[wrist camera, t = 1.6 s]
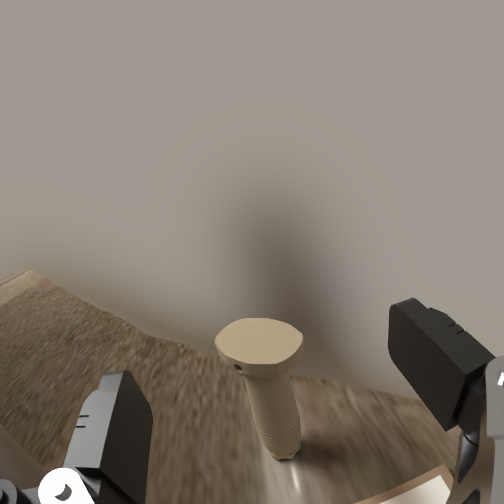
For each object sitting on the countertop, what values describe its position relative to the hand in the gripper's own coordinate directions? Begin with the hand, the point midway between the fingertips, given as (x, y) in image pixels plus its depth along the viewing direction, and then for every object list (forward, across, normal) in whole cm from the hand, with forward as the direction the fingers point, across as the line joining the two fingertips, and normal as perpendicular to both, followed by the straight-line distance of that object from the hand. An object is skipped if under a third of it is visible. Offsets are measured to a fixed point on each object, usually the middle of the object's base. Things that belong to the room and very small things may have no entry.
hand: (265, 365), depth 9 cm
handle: (+11, 0, +22) cm, 25 cm away
